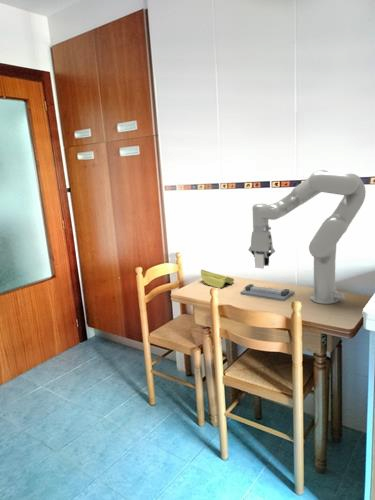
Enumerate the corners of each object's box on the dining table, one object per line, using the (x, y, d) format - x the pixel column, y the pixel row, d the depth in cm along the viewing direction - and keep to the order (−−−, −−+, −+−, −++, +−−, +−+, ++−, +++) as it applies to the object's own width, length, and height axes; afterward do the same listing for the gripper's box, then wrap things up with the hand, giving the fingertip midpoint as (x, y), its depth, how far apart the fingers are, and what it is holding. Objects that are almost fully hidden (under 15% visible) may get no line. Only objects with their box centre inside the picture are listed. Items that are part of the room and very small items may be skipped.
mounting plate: (294, 293, 195) (294, 291, 195) (283, 301, 186) (283, 298, 186) (251, 287, 210) (251, 285, 210) (240, 294, 201) (240, 292, 201)
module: (269, 265, 198) (268, 251, 196) (263, 268, 193) (262, 253, 192) (261, 264, 201) (260, 250, 199) (255, 267, 196) (254, 253, 194)
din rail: (289, 293, 193) (289, 289, 193) (284, 296, 189) (284, 292, 189) (250, 287, 207) (250, 284, 206) (245, 290, 203) (245, 286, 202)
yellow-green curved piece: (235, 279, 220) (225, 275, 213) (232, 292, 220) (221, 288, 213) (210, 272, 234) (199, 268, 227) (206, 284, 234) (195, 280, 226)
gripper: (279, 228, 190) (280, 264, 194) (249, 227, 201) (250, 261, 205) (273, 230, 185) (273, 268, 188) (242, 229, 195) (243, 264, 199)
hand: (261, 264), depth 197 cm, fingers closed on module, 4 cm apart
